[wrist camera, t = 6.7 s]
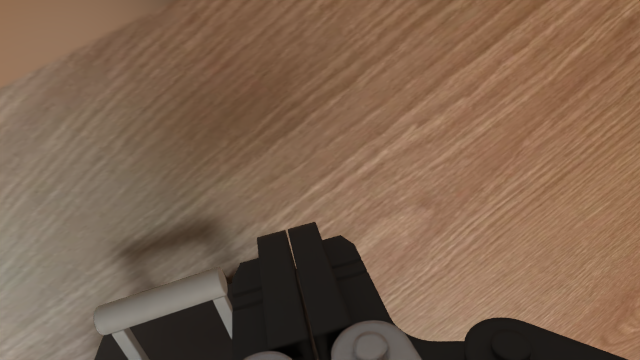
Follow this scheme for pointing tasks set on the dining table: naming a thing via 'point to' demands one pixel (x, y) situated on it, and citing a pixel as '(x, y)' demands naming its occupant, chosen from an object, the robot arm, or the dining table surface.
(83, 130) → the dining table surface
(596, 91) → the dining table surface
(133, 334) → the drawer
